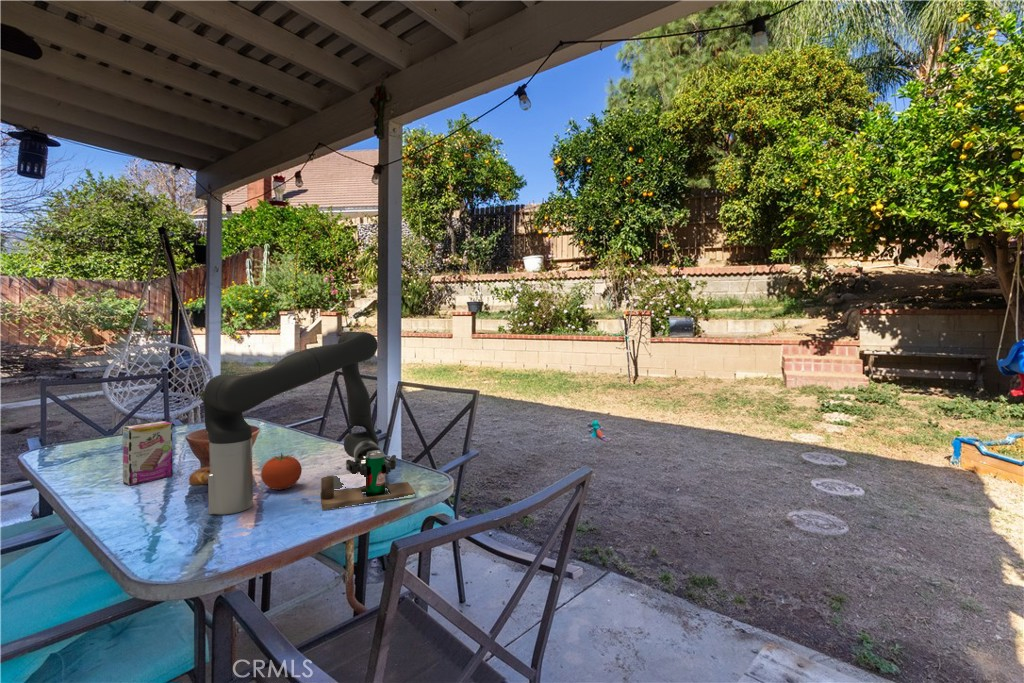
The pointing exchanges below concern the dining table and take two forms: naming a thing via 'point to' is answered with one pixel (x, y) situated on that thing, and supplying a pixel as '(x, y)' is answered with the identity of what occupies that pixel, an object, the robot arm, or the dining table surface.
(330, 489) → the plane body
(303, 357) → the robot arm
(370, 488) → the soda can
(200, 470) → the pretzel
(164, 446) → the candy bar box
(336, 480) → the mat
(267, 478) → the tomato
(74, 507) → the dining table surface
